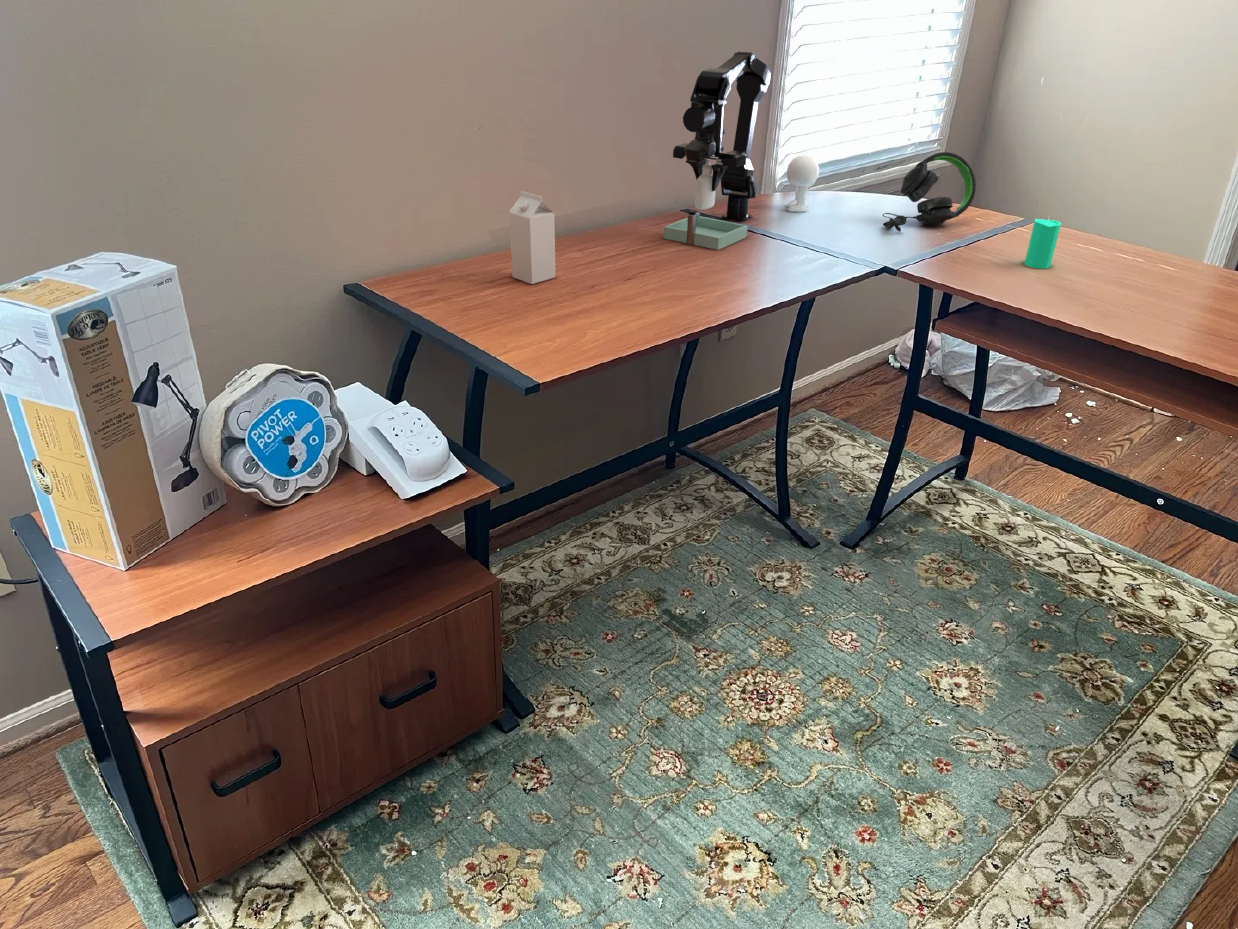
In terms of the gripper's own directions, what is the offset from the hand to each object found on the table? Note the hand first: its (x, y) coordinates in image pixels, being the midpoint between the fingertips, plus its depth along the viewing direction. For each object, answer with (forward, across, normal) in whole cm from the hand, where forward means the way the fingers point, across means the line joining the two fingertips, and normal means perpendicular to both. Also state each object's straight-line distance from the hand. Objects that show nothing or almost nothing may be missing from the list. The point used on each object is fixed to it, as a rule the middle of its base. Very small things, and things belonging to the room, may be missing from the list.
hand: (707, 189), depth 234 cm
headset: (+12, +42, +48) cm, 65 cm away
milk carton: (+12, -12, -54) cm, 56 cm away
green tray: (+12, +1, -1) cm, 12 cm away
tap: (+12, +1, -8) cm, 15 cm away
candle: (+12, +76, +31) cm, 83 cm away
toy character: (+12, +6, +41) cm, 44 cm away
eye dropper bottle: (+5, 0, 0) cm, 5 cm away
